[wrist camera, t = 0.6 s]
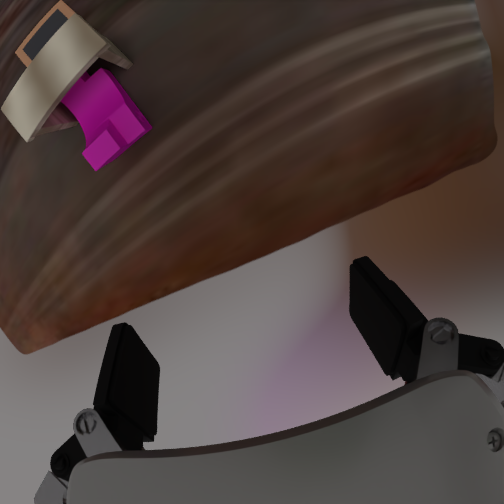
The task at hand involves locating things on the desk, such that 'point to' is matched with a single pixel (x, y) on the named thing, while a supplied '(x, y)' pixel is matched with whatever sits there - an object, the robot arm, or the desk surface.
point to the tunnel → (57, 78)
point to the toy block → (105, 116)
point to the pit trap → (44, 32)
